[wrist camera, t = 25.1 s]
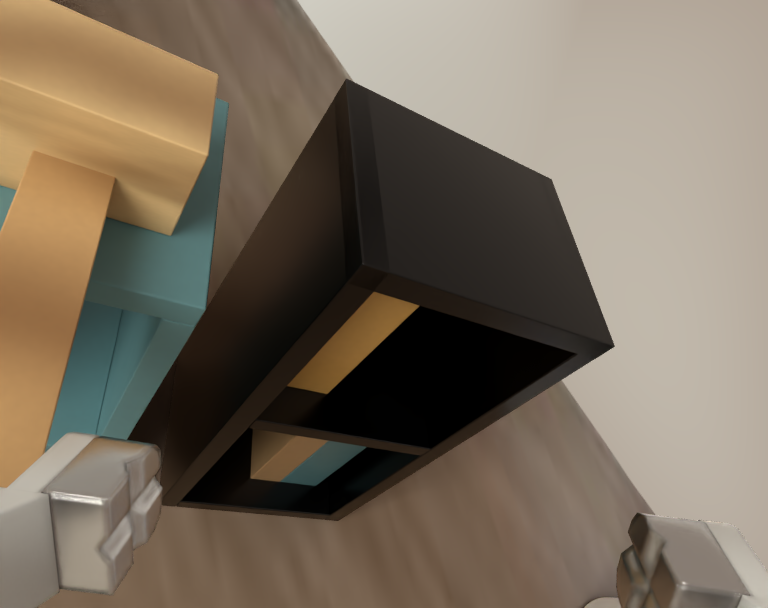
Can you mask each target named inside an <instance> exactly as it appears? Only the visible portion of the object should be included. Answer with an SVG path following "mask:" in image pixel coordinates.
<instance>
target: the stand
mask: <svg viewBox="0 0 768 608" xmlns="http://www.w3.org/2000/svg"><path fill="white" fill-rule="evenodd" d="M228 108H229V103H227V102H225V101H222V100H220V99H218V98H216V102H215V109H214V117H213V125H212V133H211V141H210V148H209V156H208V158H207V160H206V162H205V164H204V167H203V169H202V171H201V173H200V175H199V177H198V180H197V182H196V184H195V186H194V188H193V190H192V192H191V195H190V197H189V199H188V201H187V203H186V205H185V208H184V210H183V212H182V214H181V216H180V218H179V220H178V223H177V225H176V227H175V229H174V231H173V233H172V235H171V236H168V235H165V234H162V233H158V232H155V231H152V230H148V229H145V228H142V227H138V226H135V225H131V224H128V223H125V222H121V221H118V220H115V219H111V218H108V217H106V219H105V223H104V227H103V231H102V235H101V238H100V242H99V246H98V250H97V254H96V258H95V261H94V265H93V269H92V273H91V277H90V281H89V284H88V288H87V292H86V296H85V300H84V304H83V307H82V311H81V315H80V319H79V323H78V327H77V330H76V334H75V338H74V342H73V346H72V350H71V353H70V357H69V361H68V365H67V369H66V373H65V376H64V380H63V384H62V388H61V392H60V396H59V399H58V403H57V407H56V411H55V415H54V419H53V422H52V426H51V430H50V434H49V438H48V442H47V445H46V449H45V452H46V451H47V450H49V449H50V448H51V447H52V446H53V445H54V444H55V443H56V442H57V441H58V440H60V439H61V438H62V437H63V436H64V435H65V434H67V433H71V432H80V433H87V434H94V435H99V436H107V437H113V438H119V439H125V440H127V439H128V437H129V435H130V434H131V432H132V430H133V429H134V427H135V425H136V424H137V422H138V421H139V419H140V417H141V416H142V414H143V412H144V411H145V409H146V407H147V406H148V404H149V402H150V401H151V399H152V397H153V396H154V394H155V393H156V391H157V389H158V388H159V386H160V384H161V383H162V381H163V379H164V378H165V376H166V374H167V373H168V371H169V370H170V368H171V366H172V365H173V363H174V361H175V360H176V358H177V356H178V355H179V353H180V351H181V350H182V348H183V347H184V345H185V343H186V342H187V340H188V338H189V337H190V335H191V333H192V332H193V330H194V328H195V327H196V325H197V323H198V321H199V320H200V318H201V316H202V315H203V313H204V312H205V310H206V306H207V297H208V288H209V279H210V270H211V261H212V252H213V243H214V234H215V225H216V216H217V207H218V198H219V189H220V180H221V171H222V162H223V153H224V144H225V135H226V126H227V117H228ZM16 191H17V190H14V189H10V188H7V187H4V186H0V231H1V228H2V226H3V223H4V221H5V218H6V216H7V213H8V211H9V208H10V206H11V203H12V201H13V198H14V196H15V193H16Z"/></svg>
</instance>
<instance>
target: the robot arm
mask: <svg viewBox="0 0 768 608" xmlns="http://www.w3.org/2000/svg"><path fill="white" fill-rule="evenodd" d="M161 466H162V464H161V451H160V448H159V447H158V446H157V445H156V444H150V443H144V442H138V441H132V440H125V439H119V438H113V437H107V436H99V435H94V434H87V433H80V432H71V433H67V434H65V435H64V436H63V437H62V438H61V439H60V440H58V441H57V442H56V443H55V444H54V445H53V446H52V447H51V448H50V449H49V450H47V451H46V452H45V453H44V454H43V455H42V456H41V457H40V458H39V459H38V460H37V461H35V462H34V463H33V464H32V465H31V466H30V467H29V468H28V469H27V470H26V471H25V472H23V473H22V474H21V475H20V476H19V477H18V478H17V479H16V480H15V481H14V482H13V483H11V484H10V485H9V486H8V487H7V488H3V487H0V608H36V607H38V606H39V605H41V604H42V603H44V602H45V601H47V600H48V599H50V598H51V597H53V596H54V595H56V594H57V593H59V589H64V590H72V591H80V592H88V593H96V594H105V595H113V594H114V593H115V591H116V590H117V588H118V587H119V585H120V584H121V582H122V580H123V579H124V577H125V576H126V574H127V573H128V571H129V570H130V568H131V567H132V565H133V564H134V561H133V550H135V549H137V548H139V547H140V546H142V545H144V544H146V543H147V542H148V540H149V538H150V537H151V535H152V533H153V532H154V530H155V527H156V525H157V522H158V519H159V516H160V513H161V507H162V500H163V496H162V486H161V485H160V484H159V482H158V481H157V480H156V478H155V477H154V476H155V474H156V473H157V471H158V470H159V469H160V467H161ZM628 533H629V536H630V538H631V541H632V543H633V545H632V546H630V547H629V548H628V549H626V550H625V551H624V552H622V553H621V556H620V560H619V564H618V567H617V584H616V587H617V593H618V598H612V597H602V598H598V599H595V600H593V601H591V602H590V603H588V604H587V605H586V606H585V607H584V608H768V571H767V570H766V568H765V567H764V565H763V564H762V562H761V561H760V560H759V558H758V557H757V555H756V554H755V552H754V551H753V550H752V548H751V547H750V545H749V544H748V542H747V541H746V539H745V538H744V537H743V535H742V534H741V532H740V531H739V529H738V528H736V527H735V526H733V525H732V524H730V523H722V522H713V521H704V520H698V521H695V520H687V519H680V518H673V517H665V516H658V515H651V514H643V513H637V514H636V515H635V516H634V518H633V519H632V521H631V524H630V527H629V530H628Z"/></svg>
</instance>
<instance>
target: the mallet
mask: <svg viewBox="0 0 768 608" xmlns="http://www.w3.org/2000/svg"><path fill="white" fill-rule="evenodd" d="M218 78H219V75H218V74H216V73H214V72H211V71H209V70H207V69H205V68H202V67H200V66H198V65H196V64H193V63H191V62H189V61H187V60H184V59H182V58H180V57H177V56H175V55H173V54H171V53H168V52H166V51H164V50H162V49H159V48H157V47H155V46H153V45H150V44H148V43H146V42H143V41H141V40H139V39H137V38H134V37H132V36H130V35H128V34H125V33H123V32H121V31H119V30H116V29H114V28H112V27H109V26H107V25H105V24H103V23H100V22H98V21H96V20H94V19H91V18H89V17H87V16H85V15H82V14H80V13H78V12H76V11H73V10H71V9H69V8H66V7H64V6H62V5H60V4H57V3H55V2H53V1H51V0H0V186H4V187H7V188H10V189H14V190H17V191H16V193H15V196H14V198H13V201H12V203H11V206H10V208H9V211H8V213H7V216H6V218H5V221H4V223H3V226H2V228H1V231H0V487H3V488H7V487H8V486H9V485H10V484H11V483H13V482H14V481H15V480H16V479H17V478H18V477H19V476H20V475H21V474H22V473H23V472H25V471H26V470H27V469H28V468H29V467H30V466H31V465H32V464H33V463H34V462H35V461H37V460H38V459H39V458H40V457H41V456H42V455H43V454H44V453H45V449H46V445H47V442H48V438H49V434H50V430H51V426H52V422H53V419H54V415H55V411H56V407H57V403H58V399H59V396H60V392H61V388H62V384H63V380H64V376H65V373H66V369H67V365H68V361H69V357H70V353H71V350H72V346H73V342H74V338H75V334H76V330H77V327H78V323H79V319H80V315H81V311H82V307H83V304H84V300H85V296H86V292H87V288H88V284H89V281H90V277H91V273H92V269H93V265H94V261H95V258H96V254H97V250H98V246H99V242H100V238H101V235H102V231H103V227H104V223H105V219H106V217H108V218H111V219H115V220H118V221H121V222H125V223H128V224H131V225H135V226H138V227H142V228H145V229H148V230H152V231H155V232H158V233H162V234H165V235H168V236H171V235H172V233H173V231H174V229H175V227H176V225H177V223H178V220H179V218H180V216H181V214H182V212H183V210H184V208H185V205H186V203H187V201H188V199H189V197H190V195H191V192H192V190H193V188H194V186H195V184H196V182H197V180H198V177H199V175H200V173H201V171H202V169H203V167H204V164H205V162H206V160H207V158H208V156H209V148H210V141H211V133H212V125H213V117H214V109H215V102H216V94H217V86H218Z"/></svg>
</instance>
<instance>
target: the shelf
mask: <svg viewBox="0 0 768 608" xmlns="http://www.w3.org/2000/svg"><path fill="white" fill-rule="evenodd" d="M613 347H614V343H613V340H612V338H611V335H610V332H609V330H608V327H607V325H606V322H605V319H604V317H603V314H602V312H601V309H600V306H599V304H598V301H597V298H596V296H595V293H594V290H593V288H592V285H591V282H590V280H589V277H588V274H587V272H586V269H585V267H584V264H583V261H582V259H581V256H580V253H579V251H578V248H577V245H576V243H575V240H574V237H573V235H572V232H571V230H570V227H569V224H568V222H567V219H566V216H565V214H564V211H563V209H562V206H561V203H560V201H559V198H558V195H557V193H556V190H555V188H554V185H553V182H552V180H551V179H550V178H548V177H546V176H544V175H542V174H540V173H537V172H536V171H534V170H531V169H529V168H527V167H525V166H523V165H521V164H519V163H517V162H515V161H513V160H511V159H509V158H507V157H505V156H503V155H501V154H499V153H497V152H495V151H493V150H491V149H489V148H487V147H485V146H483V145H481V144H478V143H477V142H475V141H473V140H470V139H468V138H466V137H464V136H462V135H460V134H458V133H456V132H454V131H452V130H450V129H448V128H446V127H444V126H442V125H440V124H438V123H436V122H434V121H432V120H430V119H428V118H426V117H424V116H422V115H420V114H418V113H416V112H414V111H412V110H409V109H407V108H405V107H403V106H401V105H399V104H397V103H395V102H393V101H391V100H389V99H387V98H385V97H383V96H381V95H379V94H377V93H375V92H373V91H371V90H369V89H367V88H365V87H363V86H360V85H358V84H357V83H355V82H353V81H351V80H348V79H346V80H345V81H344V83H343V85H342V86H341V88H340V90H339V91H338V93H337V95H336V96H335V98H334V100H333V102H332V103H331V105H330V107H329V108H328V110H327V112H326V113H325V115H324V116H323V118H322V120H321V121H320V123H319V125H318V126H317V128H316V130H315V131H314V133H313V135H312V136H311V138H310V139H309V141H308V143H307V144H306V146H305V148H304V149H303V151H302V153H301V154H300V156H299V158H298V159H297V161H296V162H295V164H294V166H293V167H292V169H291V171H290V172H289V174H288V176H287V177H286V179H285V181H284V182H283V184H282V185H281V187H280V189H279V190H278V192H277V194H276V195H275V197H274V199H273V200H272V202H271V204H270V205H269V207H268V209H267V210H266V212H265V213H264V215H263V217H262V218H261V220H260V222H259V223H258V225H257V227H256V228H255V230H254V232H253V233H252V235H251V236H250V238H249V240H248V241H247V243H246V245H245V246H244V248H243V250H242V251H241V253H240V255H239V256H238V258H237V259H236V261H235V263H234V264H233V266H232V268H231V269H230V271H229V273H228V274H227V276H226V278H225V279H224V281H223V283H222V284H221V286H220V287H219V289H218V291H217V292H216V294H215V296H214V297H213V299H212V301H211V302H210V304H209V306H208V307H207V309H206V310H205V312H204V314H203V315H202V317H201V319H200V320H199V322H198V324H197V325H196V327H195V329H194V330H193V332H192V333H191V335H190V337H189V338H188V340H187V342H186V343H185V345H184V347H183V348H182V350H181V352H180V353H179V355H178V356H177V363H176V370H175V378H174V385H173V392H172V399H171V406H170V414H169V421H168V428H167V435H166V442H165V450H164V457H163V464H162V471H161V478H160V485H161V486H162V496H163V500H162V505H166V506H177V507H188V508H200V509H211V510H222V511H234V512H245V513H256V514H268V515H279V516H290V517H301V518H313V519H325V520H335V521H338V520H340V519H342V518H343V517H345V516H346V515H348V514H350V513H351V512H353V511H354V510H356V509H358V508H359V507H361V506H362V505H364V504H365V503H367V502H369V501H370V500H372V499H373V498H375V497H377V496H378V495H380V494H381V493H383V492H384V491H386V490H388V489H389V488H391V487H392V486H394V485H396V484H397V483H399V482H400V481H402V480H404V479H405V478H407V477H408V476H410V475H411V474H413V473H415V472H416V471H418V470H419V469H421V468H423V467H424V466H426V465H427V464H429V463H430V462H432V461H434V460H435V459H437V458H438V457H440V456H442V455H443V454H445V453H446V452H448V451H449V450H451V449H453V448H454V447H456V446H457V445H459V444H461V443H462V442H464V441H465V440H467V439H469V438H470V437H472V436H473V435H475V434H476V433H478V432H480V431H481V430H483V429H484V428H486V427H488V426H489V425H491V424H492V423H494V422H495V421H497V420H499V419H500V418H502V417H503V416H505V415H507V414H508V413H510V412H511V411H513V410H514V409H516V408H518V407H519V406H521V405H522V404H524V403H526V402H527V401H529V400H530V399H532V398H534V397H535V396H537V395H538V394H540V393H541V392H543V391H545V390H546V389H548V388H549V387H551V386H553V385H554V384H556V383H557V382H559V381H560V380H562V379H564V378H565V377H567V376H568V375H570V374H572V373H573V372H575V371H576V370H578V369H579V368H581V367H583V366H584V365H586V364H587V363H589V362H591V361H592V360H594V359H596V358H597V357H599V356H600V355H602V354H604V353H605V352H607V351H608V350H610V349H612V348H613Z"/></svg>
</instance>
